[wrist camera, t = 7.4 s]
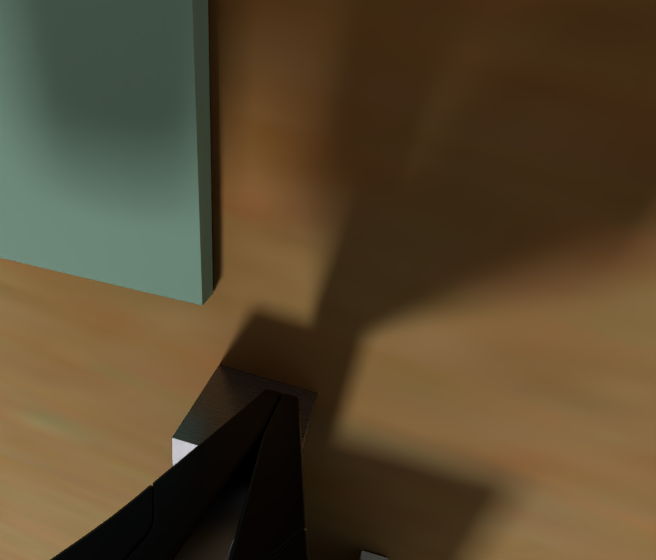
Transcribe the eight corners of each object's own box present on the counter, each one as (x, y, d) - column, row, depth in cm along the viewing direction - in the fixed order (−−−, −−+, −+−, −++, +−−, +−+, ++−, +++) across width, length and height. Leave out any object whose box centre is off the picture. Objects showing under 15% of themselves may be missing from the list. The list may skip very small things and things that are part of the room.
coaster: (204, -209, 6) (184, -233, 6) (213, 293, 11) (202, 305, 10) (-284, -254, 7) (-339, -277, 7) (-84, 224, 12) (-107, 232, 11)
